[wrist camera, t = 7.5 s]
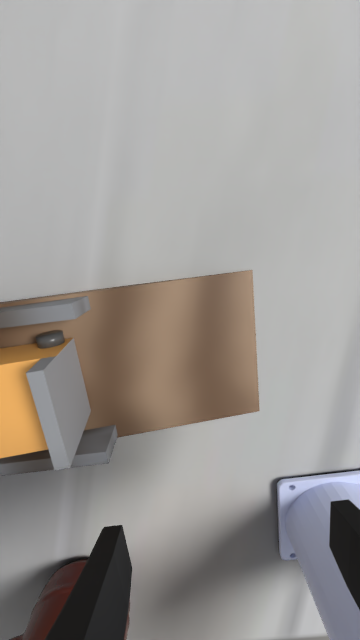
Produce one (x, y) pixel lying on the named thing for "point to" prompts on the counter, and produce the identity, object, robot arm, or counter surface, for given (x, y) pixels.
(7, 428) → the orange block with knobs
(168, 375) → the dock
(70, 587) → the mug
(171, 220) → the counter surface
